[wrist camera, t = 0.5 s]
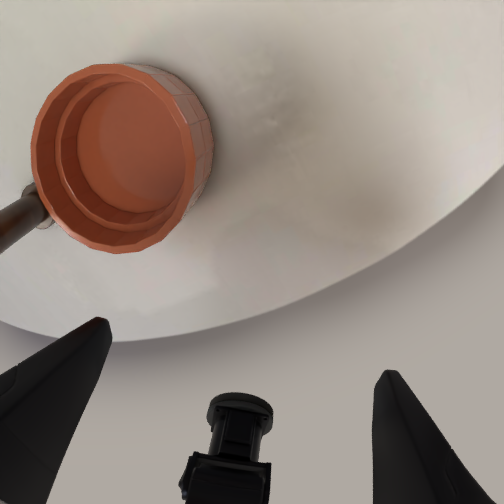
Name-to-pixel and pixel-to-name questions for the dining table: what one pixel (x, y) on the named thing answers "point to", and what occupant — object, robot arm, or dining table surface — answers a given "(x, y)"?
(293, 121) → the dining table surface
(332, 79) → the dining table surface
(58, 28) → the dining table surface
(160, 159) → the bowl
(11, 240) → the brown cylinder
